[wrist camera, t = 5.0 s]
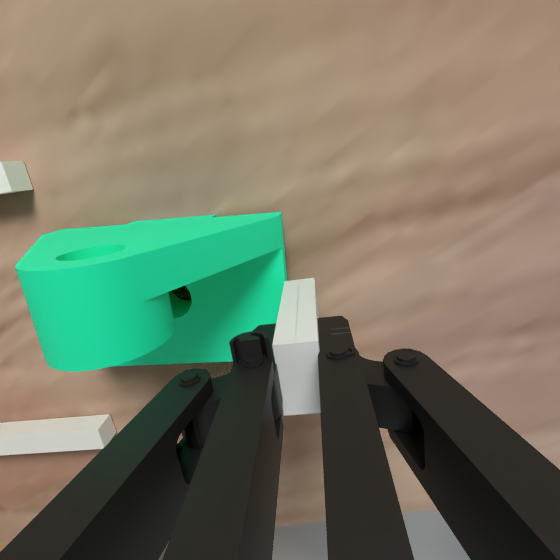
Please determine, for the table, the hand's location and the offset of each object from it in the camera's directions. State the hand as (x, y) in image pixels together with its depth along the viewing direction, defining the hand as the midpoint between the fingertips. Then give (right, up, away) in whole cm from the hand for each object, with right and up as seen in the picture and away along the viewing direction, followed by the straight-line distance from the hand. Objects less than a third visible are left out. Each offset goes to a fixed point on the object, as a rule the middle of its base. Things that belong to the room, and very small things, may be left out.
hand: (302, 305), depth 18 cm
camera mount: (-7, +1, +3) cm, 7 cm away
